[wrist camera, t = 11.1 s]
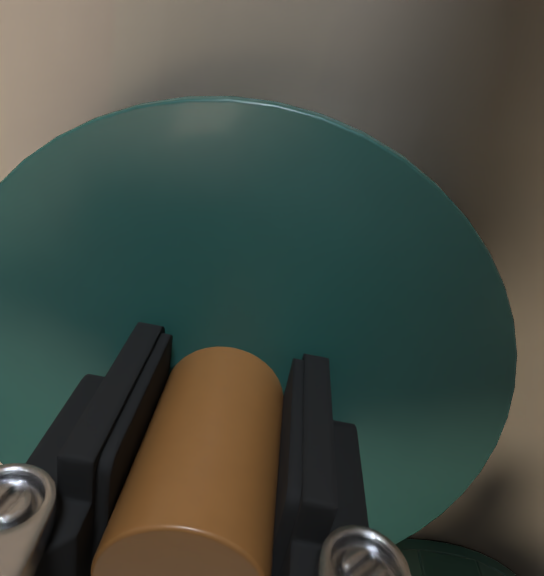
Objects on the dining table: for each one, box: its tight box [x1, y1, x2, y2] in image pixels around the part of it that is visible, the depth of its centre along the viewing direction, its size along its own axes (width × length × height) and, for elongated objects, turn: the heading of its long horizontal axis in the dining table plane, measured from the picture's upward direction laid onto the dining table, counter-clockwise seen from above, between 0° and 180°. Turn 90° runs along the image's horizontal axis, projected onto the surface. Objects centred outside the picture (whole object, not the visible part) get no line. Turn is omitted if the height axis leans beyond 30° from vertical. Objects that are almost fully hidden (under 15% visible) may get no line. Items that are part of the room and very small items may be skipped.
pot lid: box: [0, 96, 517, 576], centre depth 10 cm, size 12×12×6 cm
